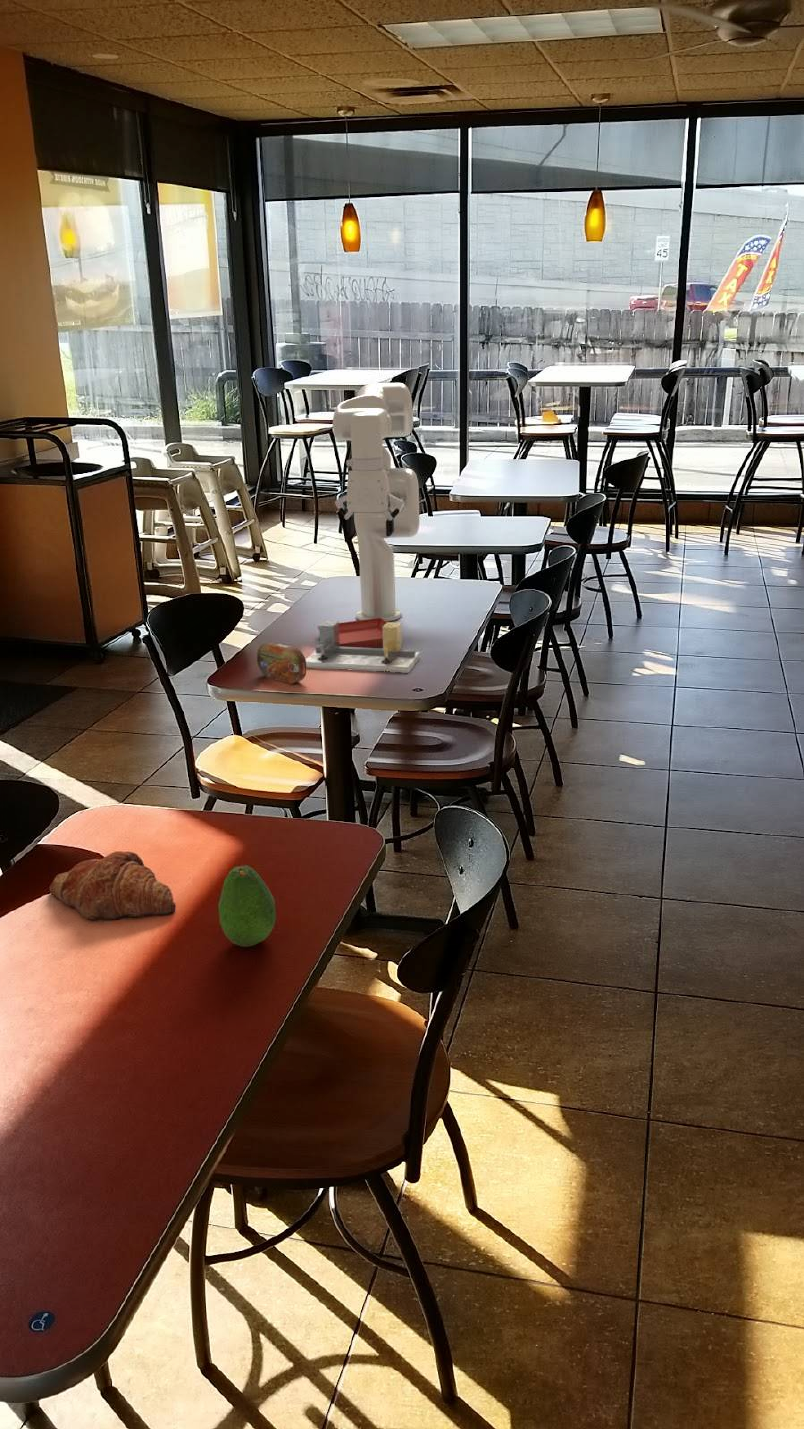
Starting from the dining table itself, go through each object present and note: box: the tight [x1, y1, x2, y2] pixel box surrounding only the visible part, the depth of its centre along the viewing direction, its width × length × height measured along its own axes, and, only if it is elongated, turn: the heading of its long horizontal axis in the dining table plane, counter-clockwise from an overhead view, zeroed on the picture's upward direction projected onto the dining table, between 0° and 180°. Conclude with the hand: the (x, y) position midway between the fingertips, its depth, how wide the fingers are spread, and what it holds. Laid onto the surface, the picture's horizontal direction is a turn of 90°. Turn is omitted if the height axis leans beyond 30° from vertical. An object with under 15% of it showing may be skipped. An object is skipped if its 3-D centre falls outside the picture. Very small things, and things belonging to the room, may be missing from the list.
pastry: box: [49, 850, 176, 922], centre depth 171 cm, size 17×15×8 cm
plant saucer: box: [316, 618, 388, 648], centre depth 296 cm, size 18×18×3 cm
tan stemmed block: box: [382, 621, 403, 661], centre depth 276 cm, size 9×4×7 cm, turn 166°
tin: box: [256, 642, 307, 685], centre depth 267 cm, size 15×3×8 cm, turn 47°
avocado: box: [217, 864, 277, 948], centre depth 158 cm, size 8×8×12 cm
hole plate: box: [305, 620, 421, 674], centre depth 277 cm, size 12×26×9 cm, turn 76°
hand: (370, 535), depth 283 cm, fingers open, 9 cm apart
